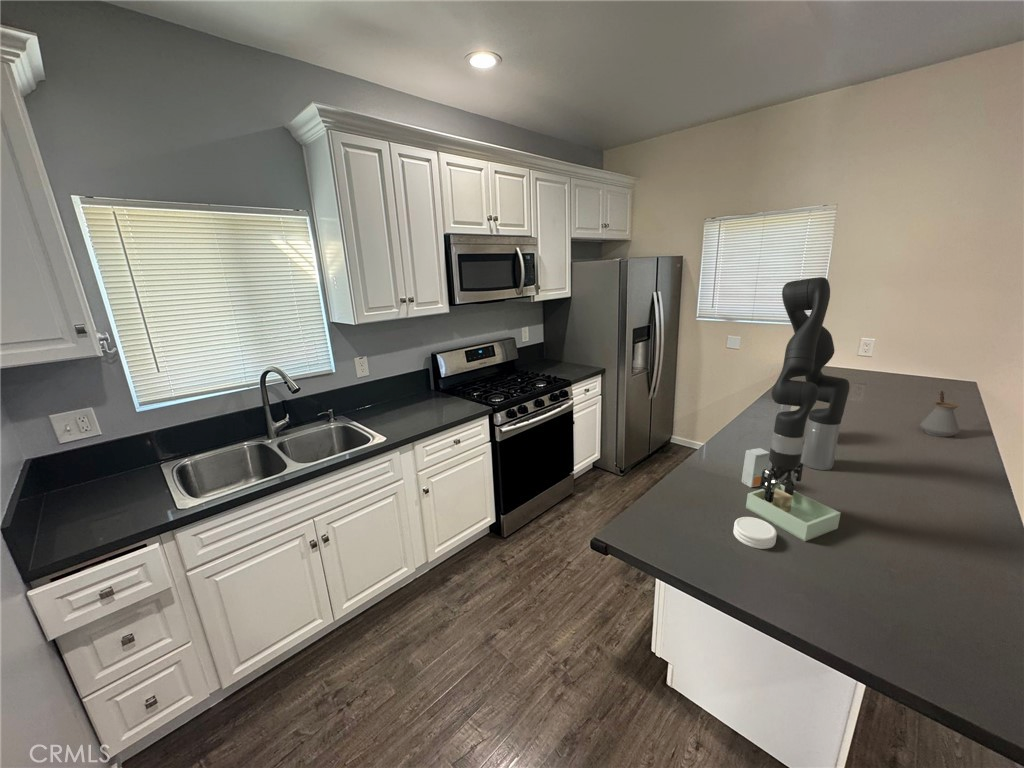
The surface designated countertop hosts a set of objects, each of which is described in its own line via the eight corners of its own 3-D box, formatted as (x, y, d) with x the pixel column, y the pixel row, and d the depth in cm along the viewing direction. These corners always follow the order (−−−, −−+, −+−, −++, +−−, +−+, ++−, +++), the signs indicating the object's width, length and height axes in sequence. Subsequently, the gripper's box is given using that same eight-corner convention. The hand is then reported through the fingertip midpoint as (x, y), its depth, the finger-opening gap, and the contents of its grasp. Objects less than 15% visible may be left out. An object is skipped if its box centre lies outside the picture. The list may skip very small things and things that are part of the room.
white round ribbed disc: (737, 522, 117) (738, 511, 116) (778, 535, 111) (779, 524, 110) (729, 540, 110) (730, 529, 109) (772, 555, 104) (773, 543, 103)
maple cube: (774, 502, 125) (776, 488, 123) (790, 511, 120) (792, 496, 119) (762, 506, 123) (764, 491, 122) (778, 515, 118) (780, 500, 117)
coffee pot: (960, 441, 162) (969, 405, 158) (920, 434, 169) (928, 400, 165) (952, 425, 178) (961, 392, 174) (915, 420, 185) (923, 388, 181)
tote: (776, 497, 128) (779, 483, 127) (837, 528, 112) (840, 512, 111) (745, 507, 124) (747, 493, 122) (804, 541, 108) (807, 525, 106)
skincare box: (751, 488, 134) (755, 455, 131) (741, 482, 138) (745, 450, 135) (765, 485, 136) (770, 452, 133) (755, 479, 140) (759, 447, 137)
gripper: (790, 438, 122) (782, 486, 126) (756, 447, 117) (749, 497, 121) (816, 448, 115) (807, 498, 120) (781, 458, 110) (773, 510, 115)
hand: (778, 498), depth 120 cm, fingers open, 8 cm apart
